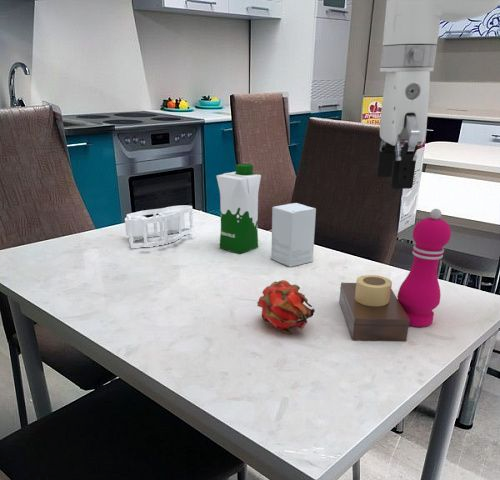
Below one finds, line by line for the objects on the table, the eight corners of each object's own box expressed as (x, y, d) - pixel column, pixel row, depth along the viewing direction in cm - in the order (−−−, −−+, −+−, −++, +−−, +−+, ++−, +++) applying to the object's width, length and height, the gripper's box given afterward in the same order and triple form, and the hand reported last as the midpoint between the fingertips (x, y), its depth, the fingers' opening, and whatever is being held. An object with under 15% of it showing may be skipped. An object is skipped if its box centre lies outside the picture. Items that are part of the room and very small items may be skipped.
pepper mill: (406, 307, 96) (427, 201, 87) (442, 320, 91) (467, 210, 82) (385, 318, 91) (405, 207, 82) (422, 332, 87) (447, 216, 78)
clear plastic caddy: (184, 228, 144) (182, 202, 140) (204, 237, 136) (203, 210, 132) (117, 240, 133) (114, 212, 130) (134, 250, 125) (131, 221, 122)
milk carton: (263, 247, 129) (265, 165, 119) (239, 255, 122) (239, 170, 113) (237, 240, 134) (237, 161, 124) (213, 248, 127) (211, 166, 118)
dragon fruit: (268, 317, 95) (302, 353, 87) (237, 301, 89) (271, 338, 81) (295, 281, 93) (333, 314, 85) (266, 262, 88) (303, 296, 79)
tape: (385, 293, 92) (387, 274, 90) (392, 306, 87) (395, 287, 85) (352, 292, 92) (354, 274, 90) (357, 306, 87) (359, 286, 85)
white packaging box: (313, 261, 119) (317, 208, 113) (289, 267, 115) (291, 212, 109) (294, 253, 124) (296, 201, 119) (269, 258, 121) (271, 205, 115)
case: (387, 302, 98) (389, 283, 96) (408, 341, 84) (412, 319, 82) (338, 301, 98) (340, 282, 97) (351, 340, 84) (354, 318, 82)
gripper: (454, 58, 65) (433, 193, 73) (417, 61, 80) (403, 172, 88) (396, 59, 65) (381, 193, 73) (369, 62, 81) (360, 172, 89)
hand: (393, 181), depth 81 cm, fingers open, 9 cm apart
